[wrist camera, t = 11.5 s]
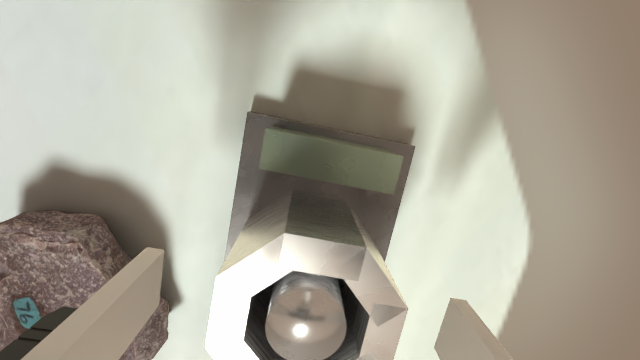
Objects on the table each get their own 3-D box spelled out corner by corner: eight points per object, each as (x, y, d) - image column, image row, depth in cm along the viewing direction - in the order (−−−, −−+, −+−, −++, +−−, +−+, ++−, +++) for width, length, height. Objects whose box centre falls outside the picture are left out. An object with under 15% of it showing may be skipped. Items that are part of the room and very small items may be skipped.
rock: (103, 176, 20) (43, 196, 16) (193, 322, 22) (164, 375, 18) (-8, 228, 20) (-96, 262, 16) (92, 366, 23) (40, 428, 18)
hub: (254, 182, 19) (224, 222, 12) (383, 206, 20) (422, 257, 13) (234, 300, 21) (198, 394, 14) (354, 320, 21) (376, 418, 15)
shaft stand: (250, 111, 19) (211, 112, 11) (410, 144, 20) (475, 166, 12) (214, 340, 22) (164, 463, 15) (353, 361, 23) (376, 488, 15)
